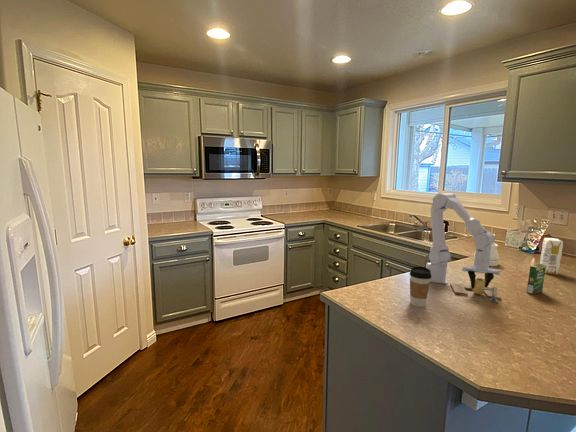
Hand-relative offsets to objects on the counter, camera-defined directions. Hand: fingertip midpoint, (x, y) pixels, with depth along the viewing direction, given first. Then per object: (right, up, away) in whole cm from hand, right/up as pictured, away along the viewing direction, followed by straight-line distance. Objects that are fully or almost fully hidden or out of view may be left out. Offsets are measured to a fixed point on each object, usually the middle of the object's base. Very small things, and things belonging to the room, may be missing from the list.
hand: (478, 288), depth 143 cm
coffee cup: (-32, -4, -11) cm, 34 cm away
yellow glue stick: (0, -2, 0) cm, 2 cm away
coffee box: (+28, -3, +4) cm, 29 cm away
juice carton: (+60, +1, +35) cm, 69 cm away
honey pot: (+35, +4, +51) cm, 62 cm away
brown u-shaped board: (0, -3, +3) cm, 4 cm away
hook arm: (+1, -4, -6) cm, 7 cm away
